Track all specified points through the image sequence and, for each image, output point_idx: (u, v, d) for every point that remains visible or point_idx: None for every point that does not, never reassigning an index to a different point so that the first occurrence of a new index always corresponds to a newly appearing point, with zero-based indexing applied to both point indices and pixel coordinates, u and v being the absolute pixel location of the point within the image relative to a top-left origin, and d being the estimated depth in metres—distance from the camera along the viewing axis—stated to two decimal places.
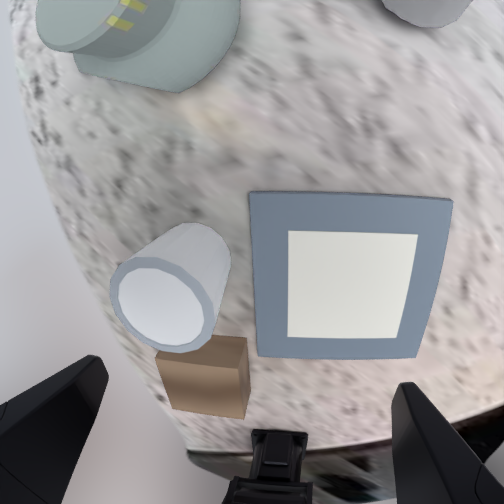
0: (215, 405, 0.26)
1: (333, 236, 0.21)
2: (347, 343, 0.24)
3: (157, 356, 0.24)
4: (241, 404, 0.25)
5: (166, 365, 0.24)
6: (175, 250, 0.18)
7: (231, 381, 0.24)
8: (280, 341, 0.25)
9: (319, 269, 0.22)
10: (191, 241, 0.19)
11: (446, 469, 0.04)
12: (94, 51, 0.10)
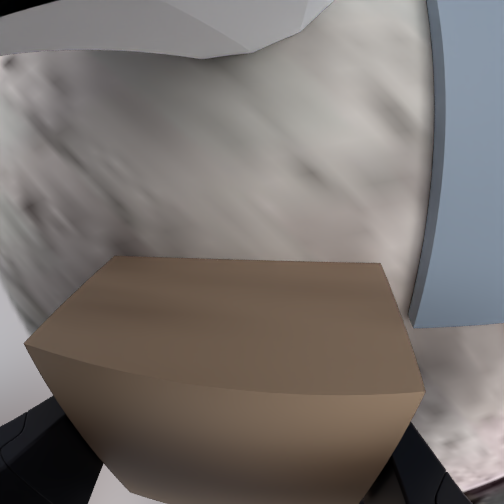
0: None
1: None
2: None
3: (35, 337, 0.05)
4: (357, 501, 0.06)
5: (65, 378, 0.05)
6: None
7: (361, 449, 0.04)
8: (495, 261, 0.06)
9: None
10: None
11: (405, 476, 0.04)
12: None
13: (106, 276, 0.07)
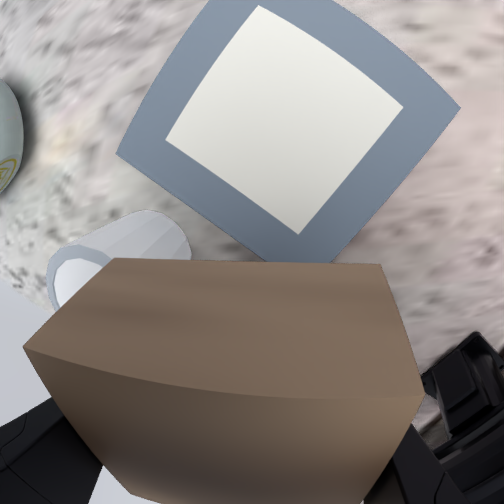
0: None
1: (199, 96, 0.15)
2: (365, 173, 0.15)
3: (34, 340, 0.05)
4: (357, 502, 0.06)
5: (64, 381, 0.05)
6: None
7: (361, 451, 0.04)
8: (300, 247, 0.18)
9: (228, 134, 0.16)
10: None
11: (405, 476, 0.04)
12: None
13: (105, 279, 0.07)
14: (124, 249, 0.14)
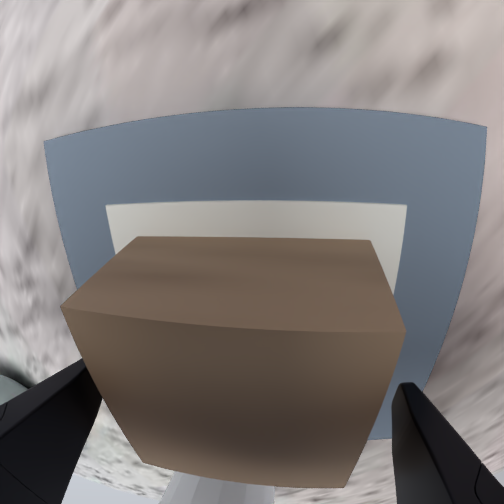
0: (270, 464, 0.07)
1: None
2: (404, 324, 0.10)
3: (71, 301, 0.06)
4: (356, 457, 0.07)
5: (97, 336, 0.06)
6: None
7: (357, 390, 0.06)
8: None
9: None
10: (166, 489, 0.13)
11: (446, 469, 0.04)
12: None
13: (131, 252, 0.08)
14: None
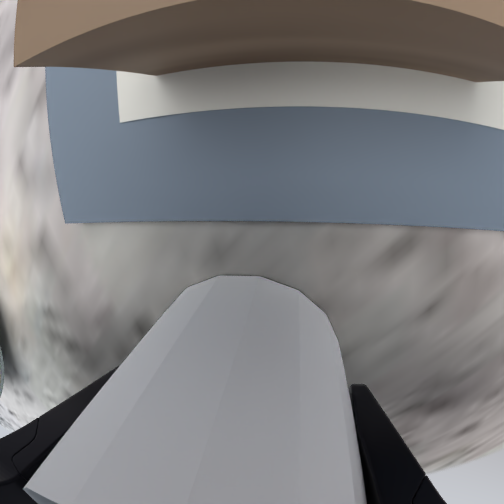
0: None
1: None
2: None
3: None
4: None
5: None
6: None
7: None
8: None
9: None
10: None
11: (382, 478, 0.04)
12: None
13: None
14: (143, 456, 0.03)
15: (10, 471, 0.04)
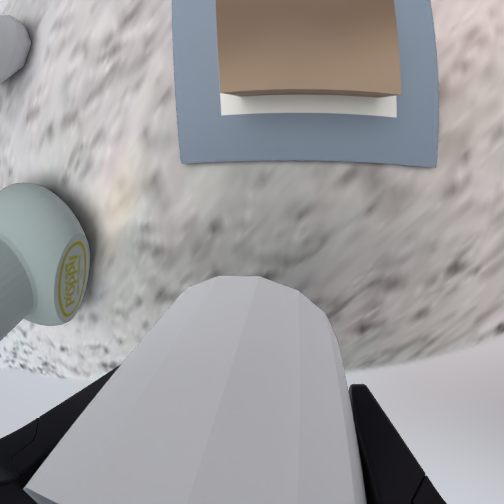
0: (338, 45, 0.10)
1: None
2: (404, 30, 0.12)
3: None
4: (396, 39, 0.09)
5: None
6: None
7: None
8: (406, 128, 0.14)
9: None
10: None
11: (382, 478, 0.04)
12: (4, 303, 0.13)
13: None
14: (143, 456, 0.03)
15: (10, 471, 0.04)
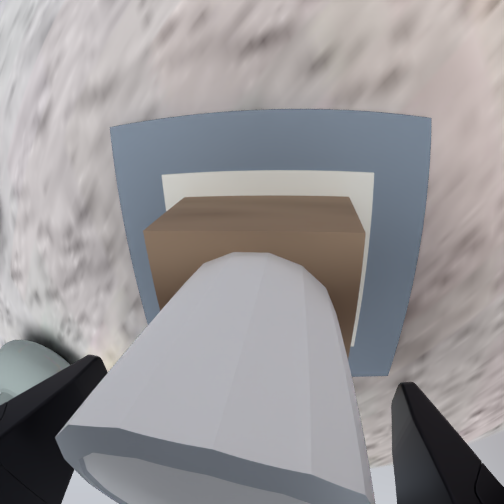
0: None
1: None
2: (380, 262, 0.14)
3: (150, 228, 0.10)
4: (347, 351, 0.11)
5: (169, 250, 0.10)
6: None
7: (340, 279, 0.10)
8: (362, 352, 0.16)
9: None
10: None
11: (446, 469, 0.04)
12: None
13: (184, 204, 0.12)
14: (183, 380, 0.05)
15: None
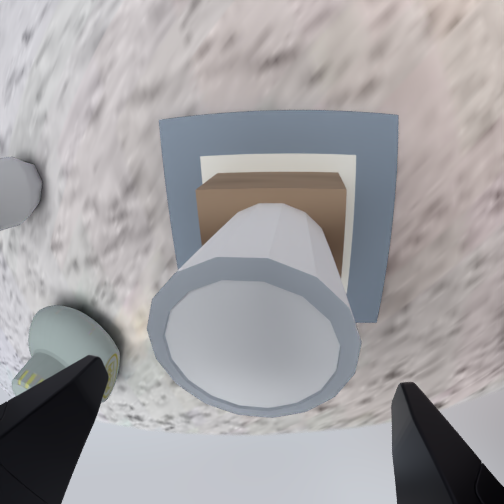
0: None
1: None
2: (363, 222, 0.18)
3: (200, 188, 0.15)
4: None
5: (214, 203, 0.15)
6: None
7: (331, 222, 0.14)
8: (354, 299, 0.21)
9: None
10: None
11: (446, 469, 0.04)
12: None
13: (219, 176, 0.17)
14: (246, 242, 0.09)
15: None
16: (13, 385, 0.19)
